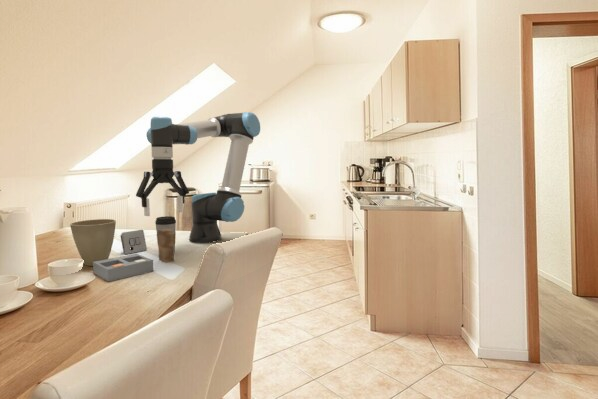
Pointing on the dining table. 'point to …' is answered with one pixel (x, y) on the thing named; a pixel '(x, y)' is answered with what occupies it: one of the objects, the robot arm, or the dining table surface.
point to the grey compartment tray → (122, 267)
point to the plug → (165, 245)
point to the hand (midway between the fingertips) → (164, 214)
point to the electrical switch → (133, 241)
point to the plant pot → (93, 239)
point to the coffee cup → (166, 226)
